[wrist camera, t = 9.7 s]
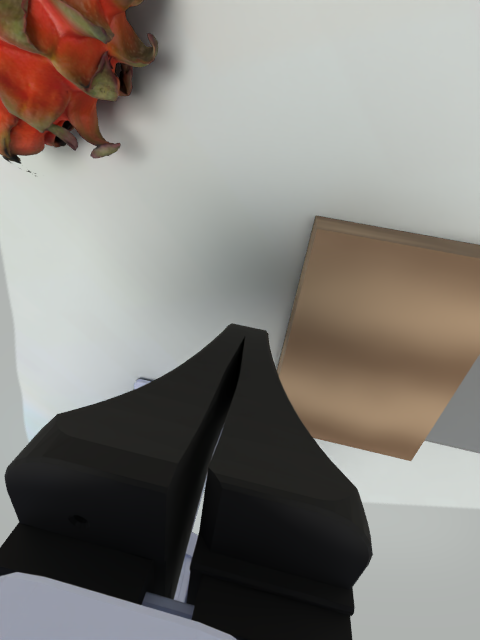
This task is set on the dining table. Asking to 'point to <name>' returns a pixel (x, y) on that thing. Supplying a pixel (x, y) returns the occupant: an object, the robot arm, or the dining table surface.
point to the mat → (461, 415)
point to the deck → (380, 334)
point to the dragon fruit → (63, 71)
